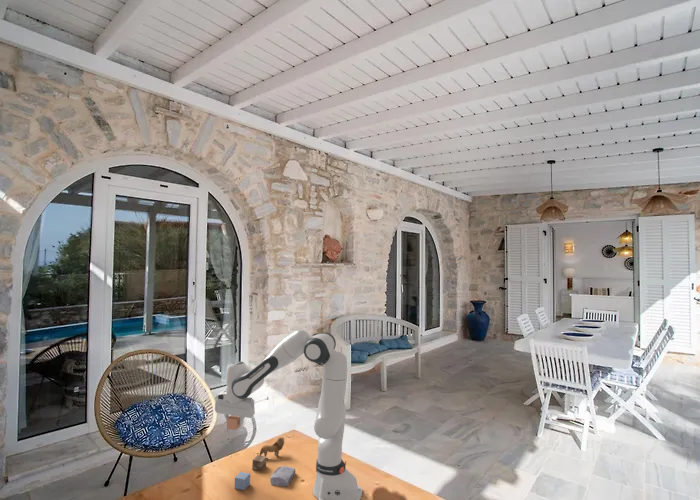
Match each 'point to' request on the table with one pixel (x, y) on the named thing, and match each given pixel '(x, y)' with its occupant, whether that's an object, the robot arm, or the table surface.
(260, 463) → the walnut cube
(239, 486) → the slate-blue cube
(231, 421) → the terracotta cube
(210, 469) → the table surface
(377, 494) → the table surface
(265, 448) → the lion figurine
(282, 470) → the stone block
